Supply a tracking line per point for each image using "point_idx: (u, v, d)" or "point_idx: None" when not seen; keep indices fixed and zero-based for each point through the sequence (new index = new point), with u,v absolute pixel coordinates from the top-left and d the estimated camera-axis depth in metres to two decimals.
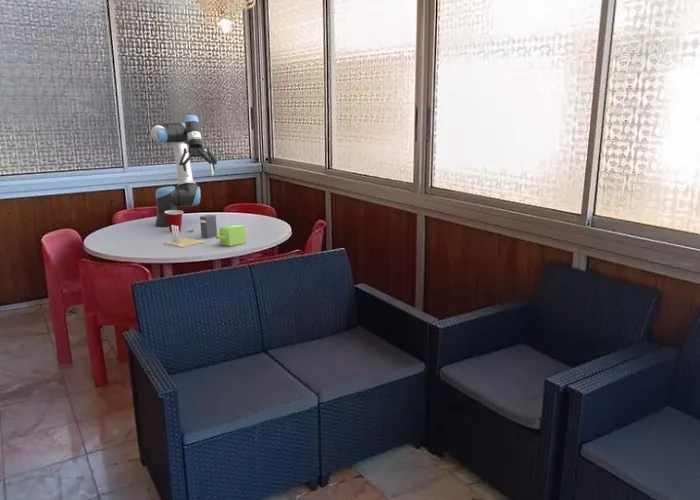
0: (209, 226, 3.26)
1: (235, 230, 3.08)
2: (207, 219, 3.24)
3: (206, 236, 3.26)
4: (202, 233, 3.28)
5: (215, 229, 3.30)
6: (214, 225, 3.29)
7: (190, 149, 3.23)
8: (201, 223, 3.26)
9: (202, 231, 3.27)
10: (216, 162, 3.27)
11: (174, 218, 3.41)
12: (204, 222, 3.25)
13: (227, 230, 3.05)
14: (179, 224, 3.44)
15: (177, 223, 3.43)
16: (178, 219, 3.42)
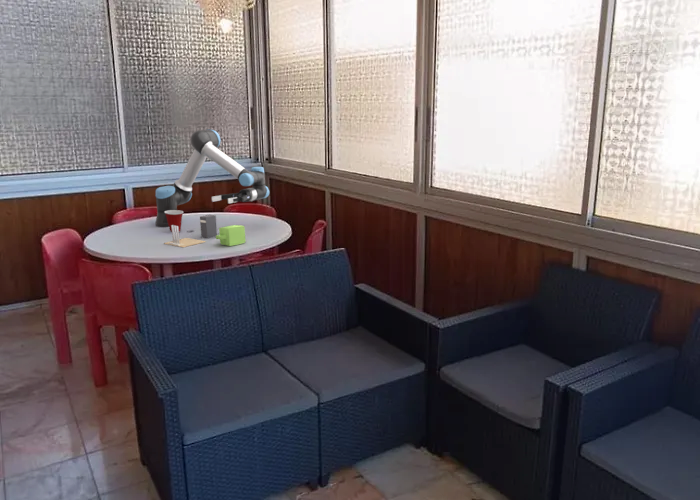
0: (209, 226, 3.26)
1: (235, 230, 3.08)
2: (207, 219, 3.24)
3: (206, 236, 3.26)
4: (202, 233, 3.28)
5: (215, 229, 3.30)
6: (214, 225, 3.29)
7: None
8: (201, 223, 3.26)
9: (202, 231, 3.27)
10: None
11: (174, 218, 3.41)
12: (204, 222, 3.25)
13: (227, 230, 3.05)
14: (179, 224, 3.44)
15: (177, 223, 3.43)
16: (178, 219, 3.42)
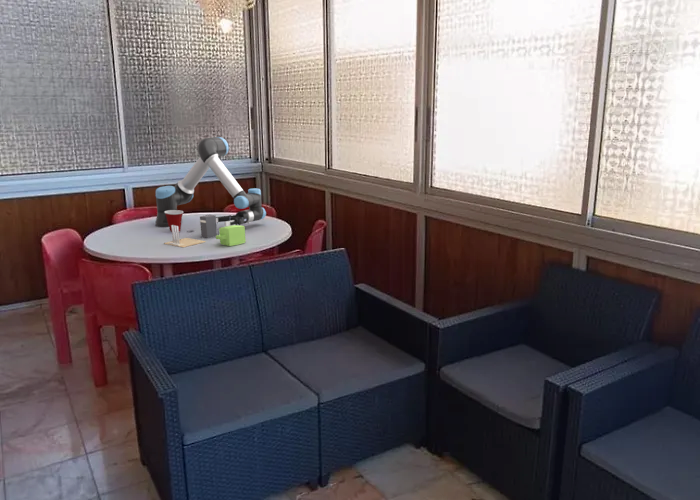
0: (209, 226, 3.26)
1: (235, 230, 3.08)
2: (207, 219, 3.24)
3: (206, 236, 3.26)
4: (202, 233, 3.28)
5: (215, 229, 3.30)
6: (214, 225, 3.29)
7: None
8: (201, 223, 3.26)
9: (202, 231, 3.27)
10: None
11: (174, 218, 3.41)
12: (204, 222, 3.25)
13: (227, 230, 3.05)
14: (179, 224, 3.44)
15: (177, 223, 3.43)
16: (178, 219, 3.42)
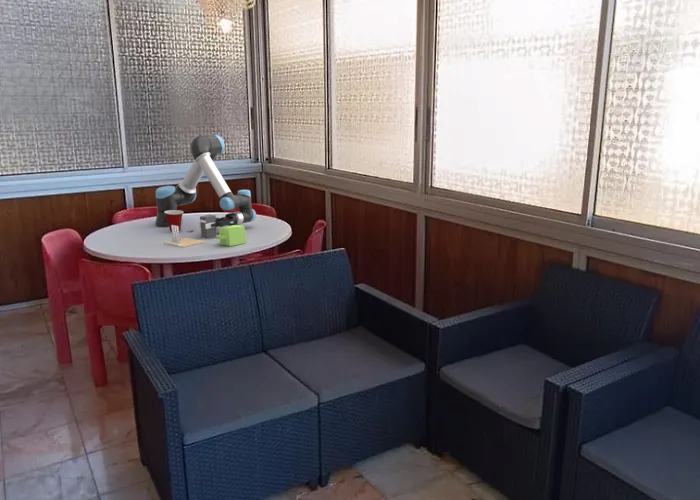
0: None
1: (235, 230, 3.08)
2: (207, 219, 3.24)
3: (206, 236, 3.26)
4: (202, 233, 3.28)
5: (215, 229, 3.30)
6: None
7: None
8: (201, 223, 3.26)
9: (202, 231, 3.27)
10: None
11: (174, 218, 3.41)
12: (204, 222, 3.25)
13: (227, 230, 3.05)
14: (179, 224, 3.44)
15: (177, 223, 3.43)
16: (178, 219, 3.42)
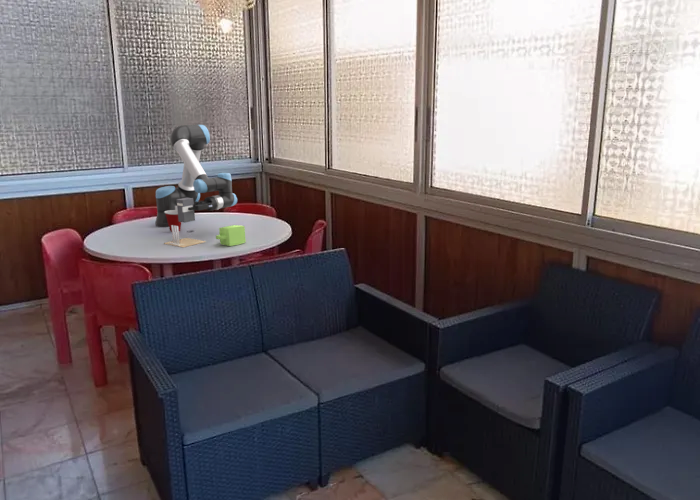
0: None
1: (235, 230, 3.08)
2: (184, 202, 3.10)
3: (183, 220, 3.12)
4: (179, 217, 3.14)
5: (193, 213, 3.16)
6: None
7: None
8: (178, 206, 3.12)
9: (179, 215, 3.13)
10: None
11: (174, 218, 3.41)
12: (181, 205, 3.10)
13: (227, 230, 3.05)
14: (179, 224, 3.44)
15: (177, 223, 3.43)
16: None
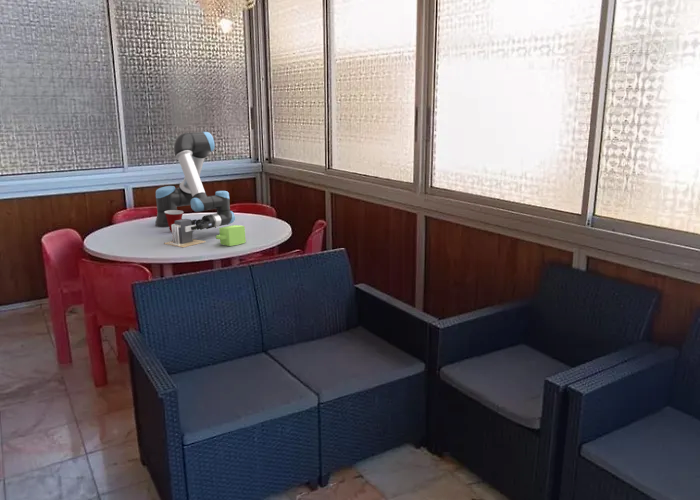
0: (184, 231, 3.13)
1: (235, 230, 3.08)
2: (182, 223, 3.11)
3: (181, 241, 3.13)
4: None
5: (191, 234, 3.17)
6: None
7: None
8: None
9: None
10: None
11: (174, 218, 3.41)
12: (179, 227, 3.11)
13: (227, 230, 3.05)
14: None
15: None
16: (178, 219, 3.42)
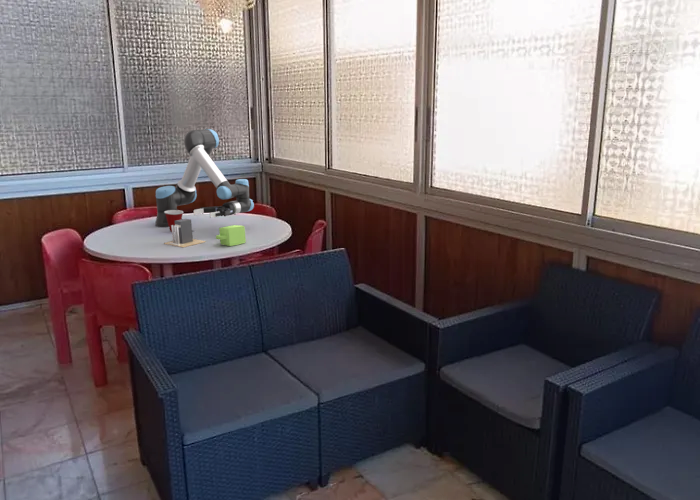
0: (184, 231, 3.13)
1: (235, 230, 3.08)
2: (182, 223, 3.11)
3: (181, 241, 3.13)
4: None
5: (191, 234, 3.17)
6: (189, 230, 3.16)
7: None
8: None
9: None
10: None
11: (174, 218, 3.41)
12: (179, 227, 3.11)
13: (227, 230, 3.05)
14: None
15: None
16: (178, 219, 3.42)
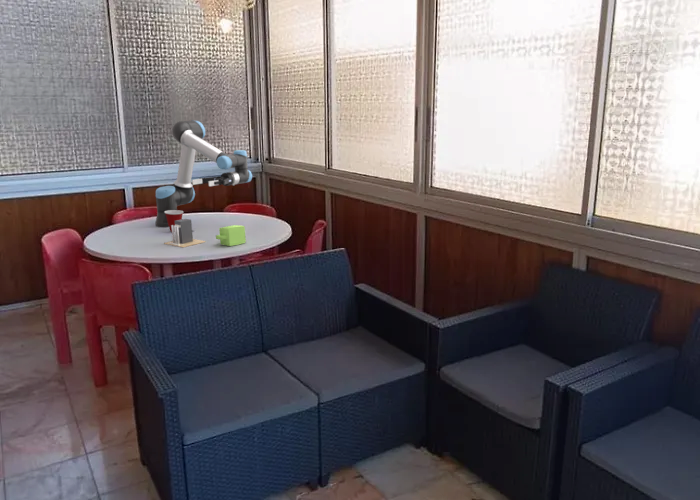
0: (184, 231, 3.13)
1: (235, 230, 3.08)
2: (182, 223, 3.11)
3: (181, 241, 3.13)
4: None
5: (191, 234, 3.17)
6: (189, 230, 3.16)
7: None
8: None
9: None
10: None
11: (174, 218, 3.41)
12: (179, 227, 3.11)
13: (227, 230, 3.05)
14: None
15: None
16: (178, 219, 3.42)
